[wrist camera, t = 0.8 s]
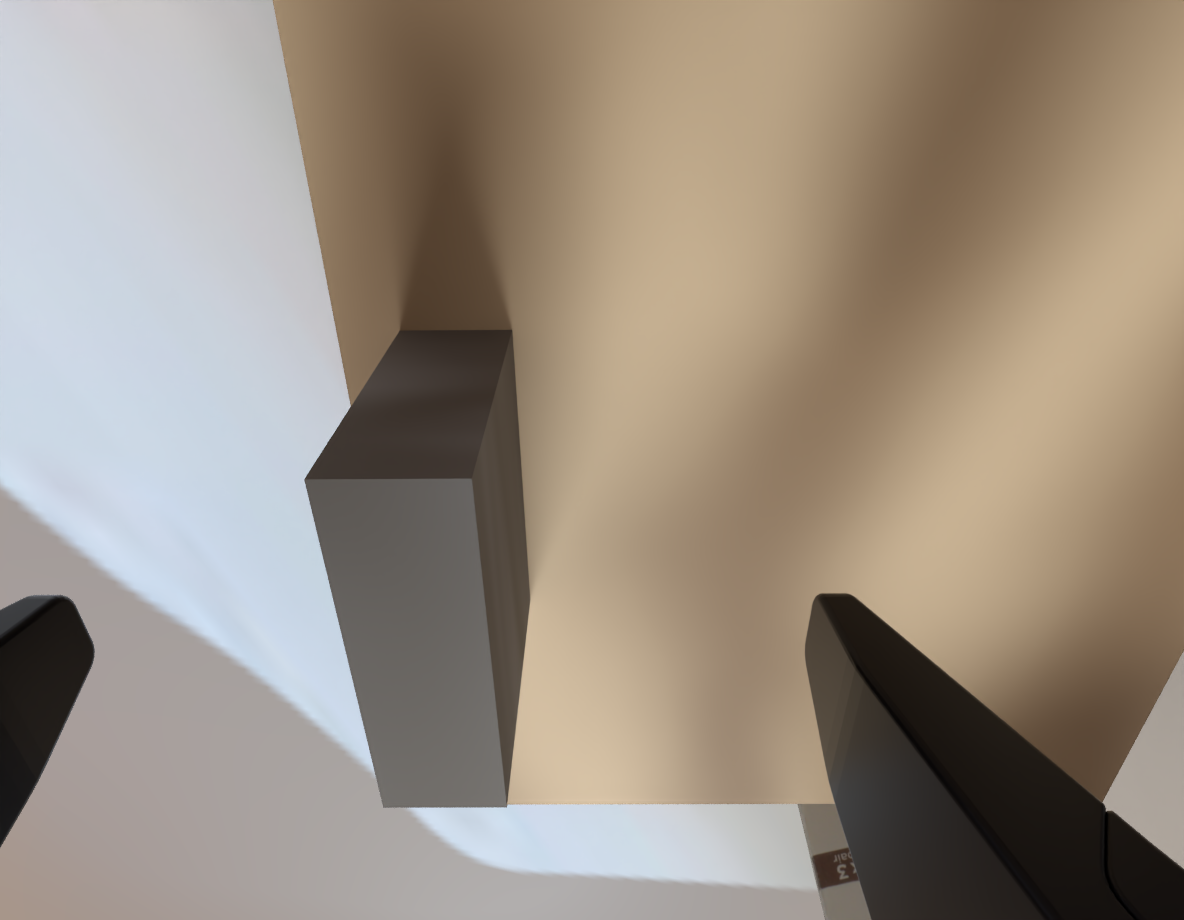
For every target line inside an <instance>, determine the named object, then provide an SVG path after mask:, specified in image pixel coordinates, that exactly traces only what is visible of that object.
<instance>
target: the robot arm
mask: <svg viewBox="0 0 1184 920" xmlns="http://www.w3.org/2000/svg"><path fill="white" fill-rule="evenodd" d="M94 652H95V651H94V644H93V641H92V639H91V637H90V635H89V633H88V631H87V629H86V627H85V625H84V623H83V620H82V618H81V616H80V614H79V612H78V610H77V608H76V606H75V604H74V602H73V601H72V600H71V599H69V598H68V597H66V596H63V595H33V596H28V597H26V598H23V599H21V600H19V601H17V602H15V603H13V604H11V605H9V606H7V607H5V608H3V609H2V610H0V847H1V845H2V844H3V842H4V840H5V839H6V837H7V835H8V834H9V832H10V830H11V828H12V827H13V825H14V823H15V821H16V820H17V818H18V816H19V815H20V813H21V811H22V809H23V808H24V806H25V804H26V803H27V801H28V799H29V797H30V795H31V794H32V792H33V790H34V788H35V786H36V784H37V783H38V781H39V779H40V777H41V774H42V773H43V771H44V768H45V766H46V764H47V762H48V760H49V758H50V756H51V754H52V752H53V749H54V747H55V745H56V743H57V741H58V739H59V736H60V734H61V732H62V730H63V728H64V725H65V723H66V721H67V719H68V717H69V715H70V712H71V710H72V708H73V706H74V703H75V702H76V699H77V697H78V695H79V693H80V691H81V688H82V686H83V684H84V682H85V680H86V678H87V675H88V673H89V671H90V669H91V667H92V664H93V660H94ZM805 662H806V668H807V673H808V678H809V684H810V689H811V694H812V699H813V705H814V710H815V715H816V720H817V725H818V731H819V736H820V741H821V746H822V752H823V757H824V762H825V767H826V771H827V776H828V781H829V785H830V788H831V792H832V795H833V799H834V802H835V806H836V809H837V812H838V815H839V818H840V822H841V825H842V828H843V831H844V834H845V837H846V841H847V844H848V847H849V850H850V853H851V857H852V860H853V863H854V866H855V869H856V873H857V876H858V879H859V882H860V885H861V889H862V892H863V895H864V898H865V901H866V905H867V908H868V911H869V914H870V917H871V920H1184V869H1183V868H1182V867H1181V866H1179V865H1178V864H1177V863H1176V862H1174V861H1173V860H1172V859H1171V858H1169V857H1168V856H1167V855H1166V854H1164V853H1163V852H1162V851H1161V850H1159V849H1158V848H1157V847H1156V846H1154V845H1153V844H1152V843H1151V842H1149V841H1148V840H1147V839H1146V838H1145V837H1143V836H1142V835H1141V834H1140V833H1139V832H1137V831H1136V830H1135V829H1134V828H1133V827H1131V826H1130V825H1129V824H1128V823H1127V822H1125V821H1124V820H1123V819H1122V818H1121V817H1119V816H1118V815H1117V814H1116V813H1115V812H1113V811H1107V812H1106V808H1105V805H1104V804H1103V803H1102V802H1101V801H1100V800H1099V799H1097V798H1096V797H1095V796H1094V795H1093V794H1091V793H1090V792H1089V791H1088V790H1087V789H1085V788H1084V787H1083V786H1082V785H1081V784H1079V783H1078V782H1077V781H1076V780H1075V779H1073V778H1072V777H1071V776H1070V775H1069V774H1067V773H1066V772H1065V771H1064V770H1062V769H1061V768H1060V767H1059V766H1058V765H1056V764H1055V763H1054V762H1053V761H1052V760H1050V759H1049V758H1048V757H1047V756H1046V755H1044V754H1043V753H1042V752H1041V751H1040V750H1038V749H1037V748H1036V747H1035V746H1034V745H1032V744H1031V743H1030V742H1029V741H1028V740H1026V739H1025V738H1024V737H1023V736H1022V735H1020V734H1019V733H1018V732H1017V731H1016V730H1014V729H1013V728H1012V727H1011V726H1010V725H1008V724H1007V723H1006V722H1005V721H1004V720H1002V719H1001V718H1000V717H999V716H998V715H996V714H995V713H994V712H993V711H992V710H990V709H989V708H988V707H987V706H986V705H984V704H983V703H982V702H981V701H980V700H978V699H977V698H976V697H975V696H974V695H972V694H971V693H970V692H969V691H968V690H966V689H965V688H964V687H963V686H962V685H960V684H959V683H958V682H957V681H956V680H954V679H953V678H952V677H951V676H950V675H948V674H947V673H946V672H945V671H944V670H942V669H941V668H940V667H939V666H938V665H936V664H935V663H934V662H933V661H932V660H930V659H929V658H928V657H927V656H926V655H924V654H923V653H922V652H921V651H920V650H918V649H917V648H916V647H915V646H914V645H912V644H911V643H910V642H909V641H908V640H906V639H905V638H904V637H903V636H902V635H900V634H899V633H898V632H897V631H896V630H894V629H893V628H892V627H891V626H890V625H888V624H887V623H886V622H885V621H884V620H882V619H881V618H880V617H879V616H878V615H876V614H875V613H874V612H873V611H872V610H870V609H869V608H868V607H867V606H866V605H864V604H863V603H862V602H861V601H860V600H858V599H857V598H856V597H854V596H853V595H851V594H847V593H821V594H818V595H817V596H816V597H815V598H814V601H813V604H812V608H811V614H810V619H809V625H808V630H807V636H806V641H805Z"/></svg>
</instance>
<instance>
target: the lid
mask: <svg viewBox="0 0 1184 920" xmlns="http://www.w3.org/2000/svg"><path fill="white" fill-rule="evenodd" d="M273 4H274V9H275V14H276V20H277V25H278V30H279V35H280V40H281V46H282V51H283V56H284V61H285V66H286V72H287V77H288V82H289V87H290V92H291V98H292V103H293V108H294V113H295V118H296V124H297V129H298V134H299V139H300V144H301V150H302V155H303V160H304V165H305V170H306V175H307V181H308V186H309V191H310V196H311V201H312V207H313V212H314V217H315V222H316V227H317V233H318V238H319V243H320V248H321V253H322V259H323V264H324V269H325V274H326V279H327V285H328V290H329V295H330V300H331V305H332V311H333V316H334V321H335V326H336V331H337V337H338V342H339V347H340V352H341V357H342V363H343V368H344V373H345V378H346V383H347V389H348V394H349V399H350V404H351V407H350V409H349V411H348V412H347V414H346V415H345V417H344V418H343V420H342V421H341V423H340V425H339V426H338V428H337V429H336V431H335V432H334V434H333V436H332V437H331V439H330V440H329V442H328V443H327V445H326V446H325V448H324V450H323V451H322V453H321V454H320V456H319V457H318V459H317V461H316V462H315V464H314V465H313V467H312V468H311V470H310V471H309V473H308V475H307V476H306V478H305V479H304V480H305V484H306V488H307V492H308V497H309V501H310V505H311V509H312V513H313V517H314V521H315V526H316V530H317V534H318V538H319V542H320V546H321V550H322V555H323V559H324V563H325V567H326V571H327V575H328V580H329V584H330V588H331V592H332V596H333V600H334V604H335V609H336V613H337V617H338V621H339V625H340V629H341V633H342V638H343V642H344V646H345V650H346V654H347V658H348V663H349V667H350V671H351V675H352V679H353V683H354V687H355V692H356V696H357V700H358V704H359V708H360V712H361V716H362V721H363V725H364V729H365V733H366V737H367V741H368V745H369V750H370V754H371V758H372V762H373V766H374V770H375V775H376V779H377V783H378V787H379V791H380V795H381V799H382V803H383V807H385V808H386V807H388V808H389V807H507V804H835V802H834V799H833V795H832V792H831V788H830V785H829V781H828V776H827V771H826V767H825V762H824V757H823V752H822V746H821V741H820V736H819V731H818V725H817V720H816V715H815V710H814V705H813V699H812V694H811V689H810V684H809V678H808V673H807V668H806V662H805V641H806V636H807V630H808V625H809V619H810V614H811V608H812V604H813V601H814V598H815V597H816V596H817V595H818V594H821V593H847V594H851V595H853V596H854V597H856V598H857V599H858V600H860V601H861V602H862V603H863V604H864V605H866V606H867V607H868V608H869V609H870V610H872V611H873V612H874V613H875V614H876V615H878V616H879V617H880V618H881V619H882V620H884V621H885V622H886V623H887V624H888V625H890V626H891V627H892V628H893V629H894V630H896V631H897V632H898V633H899V634H900V635H902V636H903V637H904V638H905V639H906V640H908V641H909V642H910V643H911V644H912V645H914V646H915V647H916V648H917V649H918V650H920V651H921V652H922V653H923V654H924V655H926V656H927V657H928V658H929V659H930V660H932V661H933V662H934V663H935V664H936V665H938V666H939V667H940V668H941V669H942V670H944V671H945V672H946V673H947V674H948V675H950V676H951V677H952V678H953V679H954V680H956V681H957V682H958V683H959V684H960V685H962V686H963V687H964V688H965V689H966V690H968V691H969V692H970V693H971V694H972V695H974V696H975V697H976V698H977V699H978V700H980V701H981V702H982V703H983V704H984V705H986V706H987V707H988V708H989V709H990V710H992V711H993V712H994V713H995V714H996V715H998V716H999V717H1000V718H1001V719H1002V720H1004V721H1005V722H1006V723H1007V724H1008V725H1010V726H1011V727H1012V728H1013V729H1014V730H1016V731H1017V732H1018V733H1019V734H1020V735H1022V736H1023V737H1024V738H1025V739H1026V740H1028V741H1029V742H1030V743H1031V744H1032V745H1034V746H1035V747H1036V748H1037V749H1038V750H1040V751H1041V752H1042V753H1043V754H1044V755H1046V756H1047V757H1048V758H1049V759H1050V760H1052V761H1053V762H1054V763H1055V764H1056V765H1058V766H1059V767H1060V768H1061V769H1062V770H1064V771H1065V772H1066V773H1067V774H1069V775H1070V776H1071V777H1072V778H1073V779H1075V780H1076V781H1077V782H1078V783H1079V784H1081V785H1082V786H1083V787H1084V788H1085V789H1087V790H1088V791H1089V792H1090V793H1091V794H1093V795H1094V796H1095V797H1096V798H1097V799H1099V800H1100V801H1101V802H1103V800H1104V798H1105V796H1106V794H1107V792H1108V791H1109V789H1110V787H1111V785H1112V783H1113V781H1114V779H1115V778H1116V776H1117V774H1118V772H1119V770H1120V768H1121V766H1122V765H1123V763H1124V761H1125V759H1126V757H1127V755H1128V753H1129V751H1130V750H1131V748H1132V746H1133V744H1134V742H1135V740H1136V738H1137V737H1138V735H1139V733H1140V731H1141V729H1142V727H1143V725H1144V724H1145V722H1146V720H1147V718H1148V716H1149V714H1150V712H1151V710H1152V709H1153V707H1154V705H1155V703H1156V701H1157V699H1158V697H1159V696H1160V694H1161V692H1162V690H1163V688H1164V686H1165V684H1166V683H1167V681H1168V679H1169V677H1170V675H1171V673H1172V671H1173V669H1174V668H1175V666H1176V664H1177V662H1178V660H1179V658H1180V656H1181V655H1182V653H1183V651H1184V0H273Z"/></svg>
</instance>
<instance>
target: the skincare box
mask: <svg viewBox="0 0 1184 920" xmlns="http://www.w3.org/2000/svg"><path fill="white" fill-rule="evenodd" d="M798 808H799V812H800V816H801V820H802V825H803V829H804V833H805V837H806V841H807V845H808V849H809V854H810V858H811V863H812V867H813V872H814V876H815V880H816V884H817V888H818V892H819V896H820V901H821V905H822V909H823V913H824V917H825V920H871V917H870V914H869V911H868V908H867V905H866V901H865V898H864V895H863V892H862V889H861V885H860V882H859V879H858V876H857V873H856V869H855V866H854V863H853V860H852V857H851V853H850V850H849V847H848V844H847V841H846V837H845V834H844V831H843V828H842V825H841V822H840V818H839V815H838V812H837V809H836V806H835V804H798Z"/></svg>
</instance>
